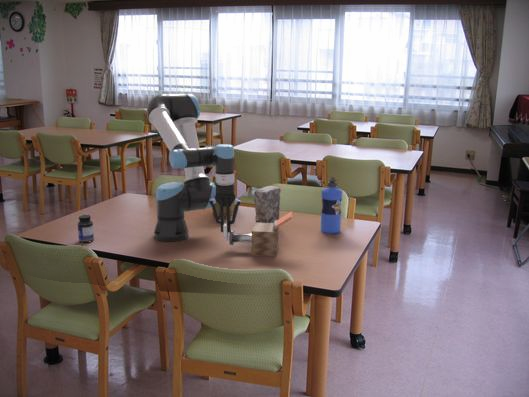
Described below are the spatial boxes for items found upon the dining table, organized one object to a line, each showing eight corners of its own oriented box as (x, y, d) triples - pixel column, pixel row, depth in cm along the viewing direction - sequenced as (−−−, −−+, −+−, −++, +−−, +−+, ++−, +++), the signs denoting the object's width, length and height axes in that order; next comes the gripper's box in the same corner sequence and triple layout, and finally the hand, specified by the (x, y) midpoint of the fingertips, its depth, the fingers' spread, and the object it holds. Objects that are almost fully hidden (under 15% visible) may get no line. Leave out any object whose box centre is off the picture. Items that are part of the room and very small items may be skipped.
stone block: (267, 235, 239) (267, 191, 234) (253, 233, 242) (253, 189, 237) (280, 227, 250) (281, 186, 245) (267, 225, 253) (268, 184, 248)
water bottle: (316, 231, 246) (317, 177, 239) (328, 226, 252) (330, 174, 246) (332, 235, 239) (334, 180, 233) (344, 230, 246) (347, 177, 240)
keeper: (274, 231, 212) (271, 227, 212) (275, 224, 221) (273, 221, 221) (292, 219, 210) (290, 216, 210) (293, 213, 219) (291, 210, 219)
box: (220, 206, 286) (220, 170, 281) (237, 207, 284) (236, 170, 280) (213, 215, 270) (212, 176, 265) (230, 216, 268) (230, 177, 263)
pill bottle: (78, 239, 231) (76, 215, 229) (93, 237, 234) (91, 213, 231) (79, 244, 226) (77, 218, 223) (94, 242, 228) (92, 217, 225)
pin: (229, 247, 217) (229, 232, 216) (231, 242, 223) (231, 228, 222) (271, 248, 216) (271, 234, 214) (272, 243, 222) (273, 230, 220)
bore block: (251, 255, 214) (251, 231, 212) (254, 245, 226) (254, 222, 223) (276, 256, 213) (276, 232, 211) (278, 246, 225) (278, 223, 222)
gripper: (207, 185, 211) (208, 242, 217) (239, 185, 210) (240, 243, 215) (210, 181, 218) (212, 236, 224) (242, 181, 217) (242, 237, 222)
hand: (225, 239), depth 219 cm, fingers closed
